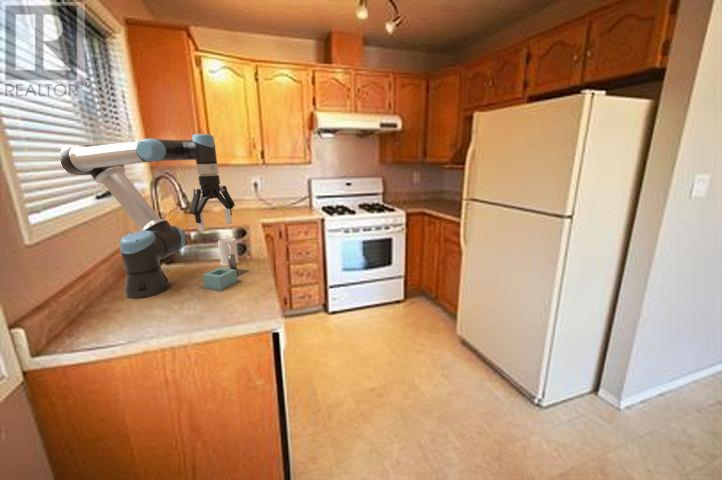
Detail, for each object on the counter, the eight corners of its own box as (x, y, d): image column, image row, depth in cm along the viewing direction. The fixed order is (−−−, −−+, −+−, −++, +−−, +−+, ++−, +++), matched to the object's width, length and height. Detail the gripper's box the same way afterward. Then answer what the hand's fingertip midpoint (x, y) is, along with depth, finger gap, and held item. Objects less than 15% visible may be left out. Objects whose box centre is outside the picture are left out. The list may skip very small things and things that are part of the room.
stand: (216, 276, 143) (213, 257, 141) (233, 269, 152) (231, 250, 150) (234, 279, 139) (231, 259, 137) (250, 271, 148) (247, 252, 146)
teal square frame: (204, 286, 131) (202, 274, 129) (221, 278, 139) (220, 267, 137) (221, 289, 127) (219, 277, 126) (237, 281, 135) (236, 269, 134)
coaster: (200, 288, 130) (200, 286, 130) (221, 279, 140) (221, 277, 140) (221, 292, 126) (220, 290, 126) (241, 282, 136) (241, 280, 136)
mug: (241, 265, 156) (238, 242, 153) (222, 269, 152) (218, 244, 149) (237, 259, 166) (234, 236, 163) (219, 262, 162) (216, 239, 159)
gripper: (186, 177, 115) (195, 235, 121) (239, 173, 137) (245, 221, 142) (172, 177, 119) (182, 233, 124) (226, 172, 140) (233, 220, 146)
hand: (216, 227), depth 133 cm, fingers open, 13 cm apart
